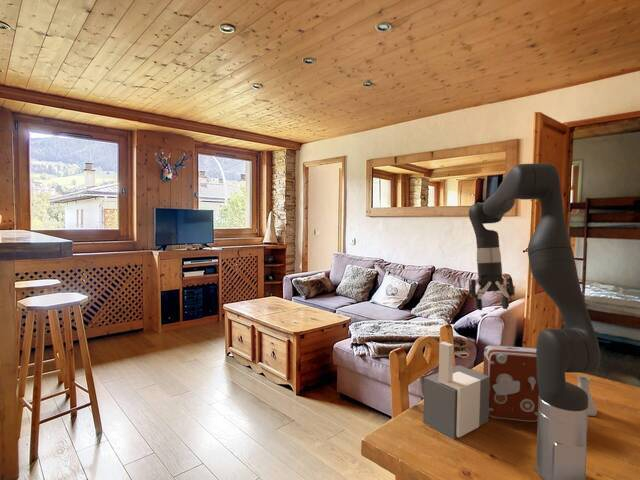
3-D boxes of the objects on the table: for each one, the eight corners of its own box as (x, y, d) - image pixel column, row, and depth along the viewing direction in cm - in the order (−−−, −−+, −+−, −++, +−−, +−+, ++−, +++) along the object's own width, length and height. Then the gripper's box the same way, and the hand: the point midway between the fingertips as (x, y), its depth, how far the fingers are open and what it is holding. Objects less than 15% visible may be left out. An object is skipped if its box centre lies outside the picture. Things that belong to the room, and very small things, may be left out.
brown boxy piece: (562, 428, 103) (565, 357, 102) (487, 420, 107) (489, 351, 106) (549, 411, 112) (552, 346, 111) (480, 404, 116) (482, 341, 115)
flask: (569, 413, 111) (571, 380, 110) (566, 402, 117) (568, 371, 117) (599, 419, 108) (601, 385, 107) (595, 408, 114) (596, 376, 113)
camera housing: (464, 403, 116) (465, 362, 116) (495, 417, 108) (496, 373, 107) (423, 422, 105) (424, 377, 105) (453, 439, 97) (455, 391, 96)
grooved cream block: (457, 415, 107) (459, 337, 106) (479, 426, 101) (481, 343, 100) (437, 425, 102) (439, 342, 101) (458, 437, 96) (461, 350, 95)
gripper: (472, 262, 122) (476, 312, 121) (515, 260, 123) (519, 309, 122) (463, 262, 130) (467, 309, 129) (504, 260, 130) (507, 307, 129)
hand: (492, 309), depth 125 cm, fingers open, 8 cm apart
